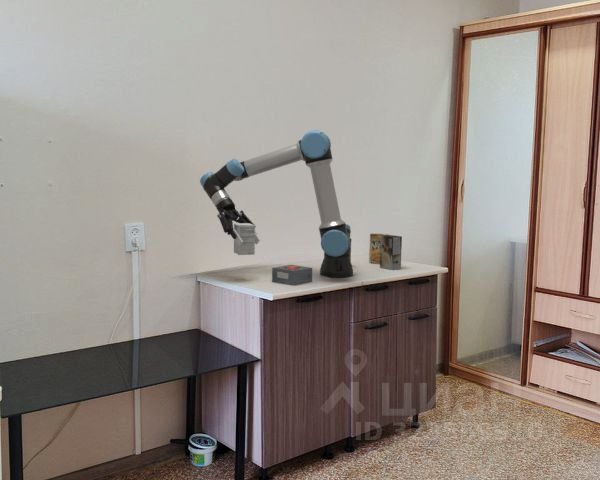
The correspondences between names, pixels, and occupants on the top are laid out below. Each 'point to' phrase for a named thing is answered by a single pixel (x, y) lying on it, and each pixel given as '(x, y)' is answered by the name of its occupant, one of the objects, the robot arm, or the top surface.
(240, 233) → the supplement box
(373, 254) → the candy box
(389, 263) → the coffee box
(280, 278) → the grey button housing
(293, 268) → the button
